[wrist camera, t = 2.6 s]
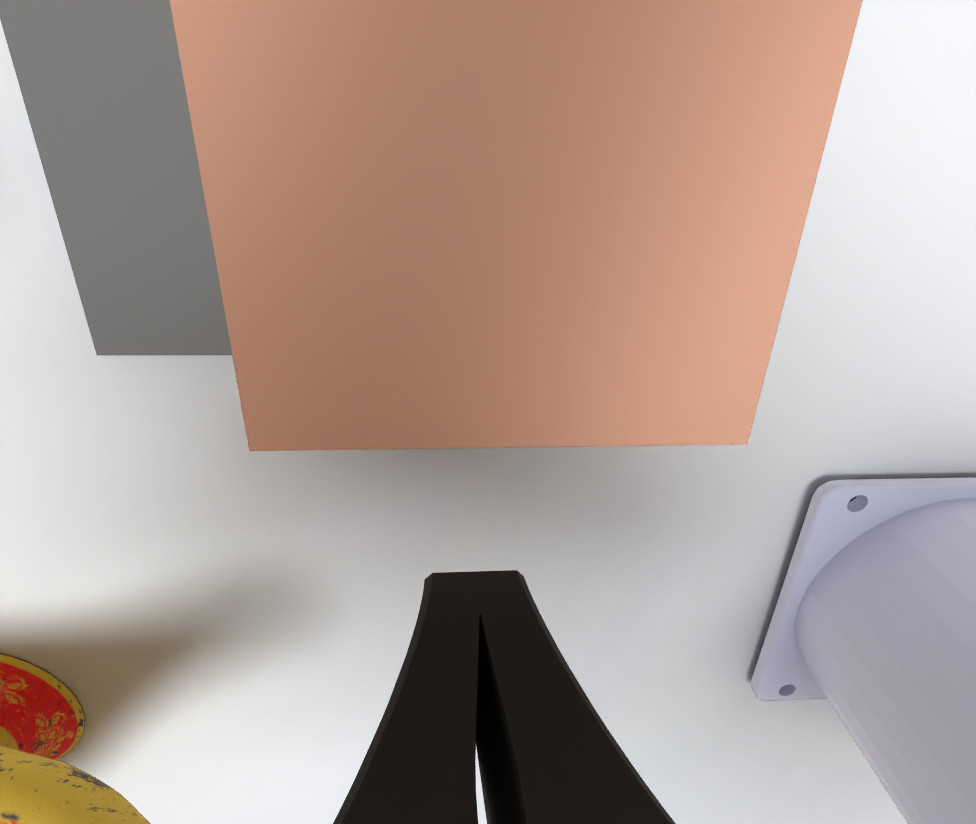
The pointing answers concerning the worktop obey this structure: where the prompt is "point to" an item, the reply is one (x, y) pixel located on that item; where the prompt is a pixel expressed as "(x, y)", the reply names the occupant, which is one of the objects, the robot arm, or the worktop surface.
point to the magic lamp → (47, 755)
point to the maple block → (506, 211)
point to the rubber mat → (121, 170)
